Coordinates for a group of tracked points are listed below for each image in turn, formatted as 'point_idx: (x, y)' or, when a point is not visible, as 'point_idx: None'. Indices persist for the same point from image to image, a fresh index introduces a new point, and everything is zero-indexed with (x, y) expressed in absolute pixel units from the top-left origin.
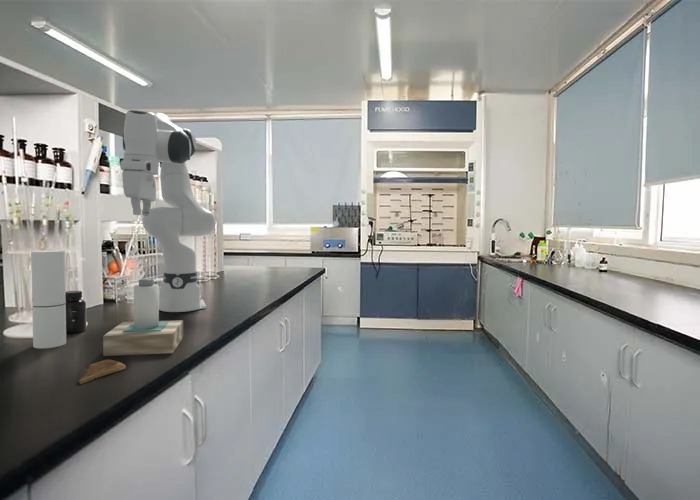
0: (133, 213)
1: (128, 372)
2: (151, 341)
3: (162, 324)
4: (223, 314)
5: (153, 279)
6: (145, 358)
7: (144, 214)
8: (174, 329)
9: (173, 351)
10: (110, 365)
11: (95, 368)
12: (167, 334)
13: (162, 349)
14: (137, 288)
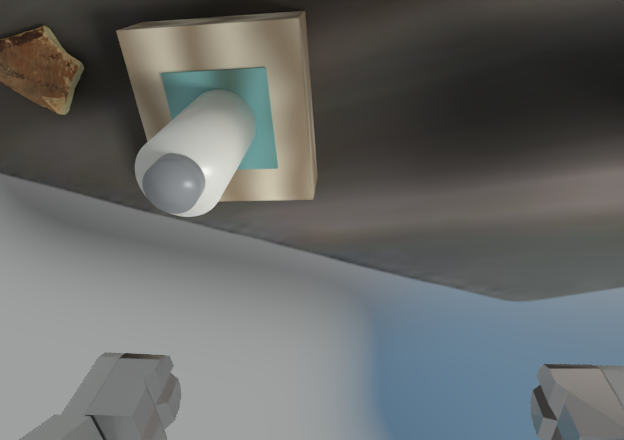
0: (98, 362)
1: (49, 125)
2: None
3: (247, 160)
4: (604, 244)
5: (179, 212)
6: (138, 132)
7: (541, 390)
8: None
9: None
10: (41, 89)
11: (18, 62)
12: None
13: None
14: (137, 157)
